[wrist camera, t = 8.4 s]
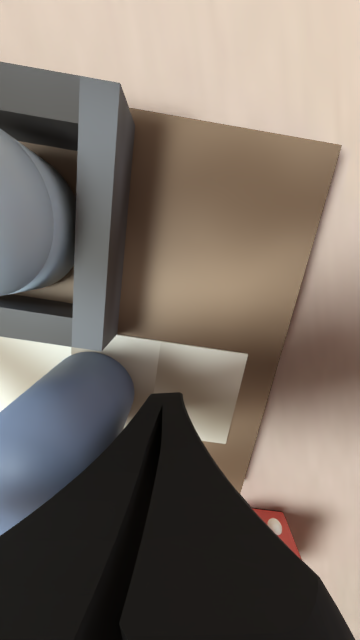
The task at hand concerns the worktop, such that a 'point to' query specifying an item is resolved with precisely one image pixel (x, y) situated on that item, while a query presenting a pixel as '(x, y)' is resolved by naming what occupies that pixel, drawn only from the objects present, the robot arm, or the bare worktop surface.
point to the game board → (166, 252)
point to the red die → (278, 527)
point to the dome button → (33, 220)
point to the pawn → (59, 430)
